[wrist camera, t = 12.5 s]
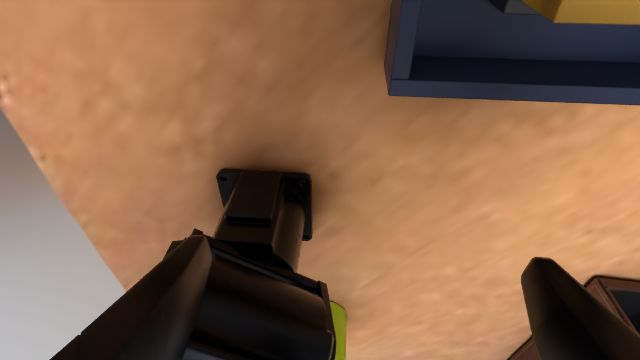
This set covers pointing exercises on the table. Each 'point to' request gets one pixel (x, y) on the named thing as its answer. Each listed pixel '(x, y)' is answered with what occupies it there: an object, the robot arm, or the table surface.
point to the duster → (576, 10)
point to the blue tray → (507, 55)
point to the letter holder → (618, 295)
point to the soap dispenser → (339, 330)
